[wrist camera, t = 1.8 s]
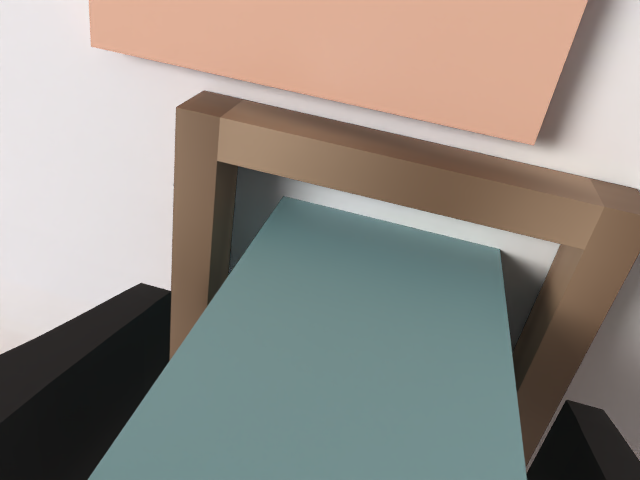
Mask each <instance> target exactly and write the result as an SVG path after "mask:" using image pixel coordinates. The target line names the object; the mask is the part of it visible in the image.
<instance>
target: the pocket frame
mask: <svg viewBox="0 0 640 480" xmlns="http://www.w3.org/2000/svg"><path fill="white" fill-rule="evenodd" d="M238 166H241V167H245V168H249V169H253V170H257V171H261V172H265V173H270V174H274V175H278V176H282V177H286V178H290V179H294V180H299V181H303V182H307V183H311V184H315V185H319V186H323V187H327V188H332V189H336V190H340V191H344V192H348V193H352V194H356V195H361V196H365V197H369V198H373V199H377V200H381V201H385V202H389V203H394V204H398V205H402V206H406V207H410V208H414V209H418V210H423V211H427V212H431V213H435V214H439V215H443V216H447V217H451V218H456V219H460V220H464V221H468V222H472V223H476V224H480V225H485V226H489V227H493V228H497V229H501V230H505V231H509V232H513V233H518V234H522V235H526V236H530V237H534V238H538V239H542V240H546V241H551V242H555V243H559V244H561V245H560V247H559V249H558V251H557V254H556V256H555V258H554V260H553V263H552V265H551V267H550V270H549V272H548V274H547V276H546V279H545V281H544V283H543V285H542V288H541V290H540V292H539V294H538V297H537V299H536V301H535V304H534V306H533V308H532V310H531V313H530V315H529V317H528V319H527V322H526V324H525V326H524V328H523V331H522V333H521V335H520V338H519V340H518V342H517V344H516V347H515V349H514V351H513V353H512V357H513V365H514V374H515V382H516V391H517V399H518V408H519V416H520V425H521V433H522V442H523V450H524V459H525V467H526V466H527V464H528V462H529V460H530V458H531V456H532V454H533V453H534V451H535V449H536V447H537V445H538V443H539V441H540V439H541V437H542V436H543V434H544V432H545V430H546V428H547V426H548V424H549V422H550V420H551V419H552V417H553V415H554V413H555V411H556V409H557V407H558V405H559V403H560V402H561V400H562V398H563V396H564V394H565V392H566V390H567V388H568V386H569V385H570V383H571V381H572V379H573V377H574V375H575V373H576V371H577V369H578V368H579V366H580V364H581V362H582V360H583V358H584V356H585V354H586V353H587V351H588V349H589V347H590V345H591V343H592V341H593V339H594V337H595V336H596V334H597V332H598V330H599V328H600V326H601V324H602V322H603V320H604V319H605V317H606V315H607V313H608V311H609V309H610V307H611V305H612V303H613V302H614V300H615V298H616V296H617V294H618V292H619V290H620V288H621V286H622V285H623V283H624V281H625V279H626V277H627V275H628V273H629V271H630V269H631V268H632V266H633V264H634V262H635V260H636V258H637V256H638V254H639V252H640V193H639V192H638V190H637V189H634V188H630V187H626V186H621V185H617V184H612V183H608V182H604V181H599V180H595V179H590V178H586V177H582V176H577V175H573V174H568V173H564V172H560V171H555V170H551V169H547V168H542V167H538V166H533V165H529V164H525V163H520V162H516V161H511V160H507V159H503V158H498V157H494V156H489V155H485V154H481V153H476V152H472V151H467V150H463V149H459V148H454V147H450V146H445V145H441V144H437V143H432V142H428V141H423V140H419V139H415V138H410V137H406V136H401V135H397V134H393V133H388V132H384V131H379V130H375V129H371V128H366V127H362V126H358V125H353V124H349V123H344V122H340V121H336V120H331V119H327V118H322V117H318V116H314V115H309V114H305V113H300V112H296V111H292V110H287V109H283V108H278V107H274V106H270V105H265V104H261V103H256V102H252V101H248V100H243V99H239V98H234V97H230V96H226V95H221V94H217V93H212V92H208V91H202V92H201V93H199V94H197V95H196V96H194V97H192V98H191V99H189V100H187V101H186V102H184V103H182V104H181V105H179V106H177V107H176V129H175V166H174V203H173V239H172V276H171V327H170V360H171V358H172V357H173V355H174V354H175V352H176V351H177V350H178V348H179V347H180V345H181V344H182V342H183V341H184V339H185V338H186V337H187V335H188V334H189V332H190V331H191V329H192V328H193V326H194V325H195V324H196V322H197V321H198V319H199V318H200V316H201V315H202V313H203V312H204V310H205V309H206V308H207V306H208V305H209V303H210V302H211V300H212V299H213V297H214V296H215V295H216V293H217V292H218V290H219V289H220V287H221V286H222V284H223V283H224V282H225V280H226V279H227V277H228V270H229V259H230V248H231V237H232V226H233V215H234V204H235V192H236V181H237V170H238Z"/></svg>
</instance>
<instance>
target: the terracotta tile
mask: <svg viewBox="0 0 640 480" xmlns="http://www.w3.org/2000/svg"><path fill="white" fill-rule="evenodd" d="M587 2H588V0H89V15H90V35H91V47H96V48H100V49H104V50H109V51H113V52H118V53H122V54H127V55H131V56H136V57H140V58H145V59H149V60H154V61H158V62H163V63H167V64H172V65H176V66H181V67H185V68H189V69H194V70H198V71H203V72H207V73H212V74H216V75H221V76H225V77H230V78H234V79H239V80H243V81H248V82H252V83H257V84H261V85H266V86H270V87H275V88H279V89H283V90H288V91H292V92H297V93H301V94H306V95H310V96H315V97H319V98H324V99H328V100H333V101H337V102H342V103H346V104H351V105H355V106H360V107H364V108H369V109H373V110H377V111H382V112H386V113H391V114H395V115H400V116H404V117H409V118H413V119H418V120H422V121H427V122H431V123H436V124H440V125H445V126H449V127H454V128H458V129H462V130H467V131H471V132H476V133H480V134H485V135H489V136H494V137H498V138H503V139H507V140H512V141H516V142H521V143H525V144H530V145H534V144H535V141H536V138H537V136H538V133H539V130H540V128H541V125H542V122H543V120H544V117H545V114H546V112H547V109H548V106H549V104H550V101H551V98H552V96H553V93H554V90H555V88H556V85H557V82H558V80H559V77H560V74H561V71H562V69H563V66H564V63H565V61H566V58H567V55H568V53H569V50H570V47H571V45H572V42H573V39H574V37H575V34H576V31H577V29H578V26H579V23H580V21H581V18H582V15H583V13H584V10H585V7H586V5H587Z"/></svg>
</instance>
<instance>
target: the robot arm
mask: <svg viewBox="0 0 640 480" xmlns="http://www.w3.org/2000/svg"><path fill="white" fill-rule="evenodd" d="M170 327H171V291H169V290H165V289H161V288H158V287H154V286H150V285H147V284H143V283H140V284H138V285H136V286H134V287H132V288H130V289H128V290H126V291H124V292H122V293H120V294H119V295H117V296H115V297H113V298H111V299H109V300H107V301H106V302H104V303H102V304H100V305H98V306H96V307H94V308H93V309H91V310H89V311H87V312H85V313H83V314H81V315H79V316H77V317H76V318H74V319H72V320H70V321H68V322H66V323H64V324H62V325H60V326H58V327H56V328H54V329H52V330H50V331H49V332H47V333H45V334H43V335H41V336H39V337H37V338H35V339H33V340H31V341H28V342H26V343H24V344H22V345H20V346H18V347H16V348H14V349H11V350H9V351H7V352H5V353H3V354H1V355H0V480H88V478H89V477H90V476H91V474H92V473H93V471H94V470H95V468H96V467H97V465H98V464H99V463H100V461H101V460H102V458H103V457H104V455H105V454H106V452H107V451H108V450H109V448H110V447H111V445H112V444H113V442H114V441H115V439H116V438H117V436H118V435H119V434H120V432H121V431H122V429H123V428H124V426H125V425H126V423H127V422H128V421H129V419H130V418H131V416H132V415H133V413H134V412H135V410H136V409H137V408H138V406H139V405H140V403H141V402H142V400H143V399H144V397H145V396H146V394H147V393H148V392H149V390H150V389H151V387H152V386H153V384H154V383H155V381H156V380H157V379H158V377H159V376H160V374H161V373H162V371H163V370H164V368H165V367H166V366H167V364H168V363H169V361H170ZM526 476H527V480H640V461H639V460H638V458H637V457H636V455H635V454H634V452H633V451H632V450H631V448H630V447H629V445H628V444H627V442H626V441H625V439H624V438H623V437H622V435H621V434H620V432H619V431H618V429H617V428H616V427H615V425H614V424H613V422H612V421H611V420H610V418H609V417H608V416H607V414H606V413H605V412H604V410H602V409H598V408H595V407H591V406H587V405H584V404H580V403H577V402H573V401H569V400H566V401H565V403H564V405H563V407H562V409H561V411H560V413H559V414H558V416H557V418H556V420H555V422H554V424H553V426H552V427H551V429H550V431H549V433H548V435H547V437H546V439H545V440H544V442H543V444H542V446H541V448H540V450H539V452H538V454H537V455H536V457H535V459H534V461H533V463H532V465H531V467H530V468H529V470H528V472H527V474H526Z"/></svg>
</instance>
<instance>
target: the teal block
mask: <svg viewBox="0 0 640 480" xmlns="http://www.w3.org/2000/svg"><path fill="white" fill-rule="evenodd" d="M88 480H527V476H526V467H525V459H524V450H523V442H522V433H521V425H520V416H519V408H518V399H517V391H516V382H515V374H514V365H513V357H512V348H511V340H510V331H509V323H508V314H507V306H506V297H505V289H504V280H503V272H502V263H501V255H500V249H497V248H493V247H488V246H484V245H480V244H476V243H472V242H468V241H464V240H460V239H456V238H452V237H448V236H444V235H440V234H436V233H432V232H427V231H423V230H419V229H415V228H411V227H407V226H403V225H399V224H395V223H391V222H387V221H383V220H379V219H375V218H371V217H367V216H362V215H358V214H354V213H350V212H346V211H342V210H338V209H334V208H330V207H326V206H322V205H318V204H314V203H310V202H306V201H301V200H297V199H293V198H289V197H285V196H283V198H282V199H281V200H280V202H279V203H278V205H277V206H276V208H275V209H274V211H273V212H272V213H271V215H270V216H269V218H268V219H267V221H266V222H265V224H264V225H263V226H262V228H261V229H260V231H259V232H258V234H257V235H256V237H255V238H254V240H253V241H252V242H251V244H250V245H249V247H248V248H247V250H246V251H245V253H244V254H243V255H242V257H241V258H240V260H239V261H238V263H237V264H236V266H235V267H234V268H233V270H232V271H231V273H230V274H229V276H228V277H227V279H226V280H225V282H224V283H223V284H222V286H221V287H220V289H219V290H218V292H217V293H216V295H215V296H214V297H213V299H212V300H211V302H210V303H209V305H208V306H207V308H206V309H205V310H204V312H203V313H202V315H201V316H200V318H199V319H198V321H197V322H196V324H195V325H194V326H193V328H192V329H191V331H190V332H189V334H188V335H187V337H186V338H185V339H184V341H183V342H182V344H181V345H180V347H179V348H178V350H177V351H176V352H175V354H174V355H173V357H172V358H171V360H170V361H169V363H168V364H167V366H166V367H165V368H164V370H163V371H162V373H161V374H160V376H159V377H158V379H157V380H156V381H155V383H154V384H153V386H152V387H151V389H150V390H149V392H148V393H147V394H146V396H145V397H144V399H143V400H142V402H141V403H140V405H139V406H138V408H137V409H136V410H135V412H134V413H133V415H132V416H131V418H130V419H129V421H128V422H127V423H126V425H125V426H124V428H123V429H122V431H121V432H120V434H119V435H118V436H117V438H116V439H115V441H114V442H113V444H112V445H111V447H110V448H109V450H108V451H107V452H106V454H105V455H104V457H103V458H102V460H101V461H100V463H99V464H98V465H97V467H96V468H95V470H94V471H93V473H92V474H91V476H90V477H89V478H88Z"/></svg>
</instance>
